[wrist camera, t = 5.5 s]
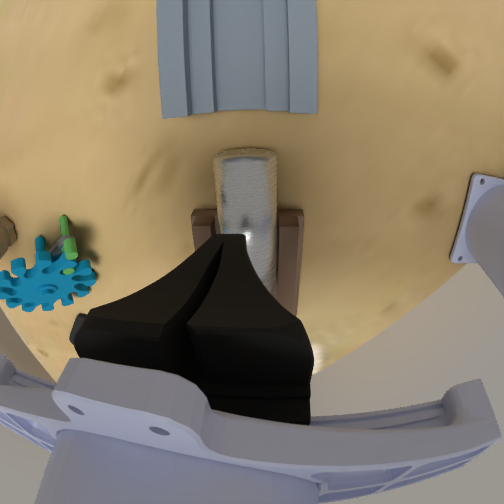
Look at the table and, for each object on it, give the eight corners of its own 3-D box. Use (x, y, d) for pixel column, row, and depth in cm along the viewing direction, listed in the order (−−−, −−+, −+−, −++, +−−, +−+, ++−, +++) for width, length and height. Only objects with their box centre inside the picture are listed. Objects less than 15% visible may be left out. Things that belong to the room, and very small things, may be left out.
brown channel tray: (302, 210, 20) (306, 226, 18) (294, 315, 26) (296, 336, 24) (193, 209, 21) (184, 226, 19) (208, 313, 26) (204, 333, 24)
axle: (213, 150, 17) (211, 166, 14) (271, 147, 17) (281, 162, 14) (225, 283, 22) (226, 315, 20) (272, 279, 23) (279, 311, 20)
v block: (306, -8, 12) (314, -26, 9) (309, 108, 16) (317, 114, 14) (176, -1, 13) (156, -15, 10) (181, 111, 17) (162, 119, 14)
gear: (65, 319, 27) (-15, 314, 17) (55, 271, 29) (-18, 257, 19) (126, 269, 24) (26, 248, 15) (111, 215, 26) (25, 182, 17)
